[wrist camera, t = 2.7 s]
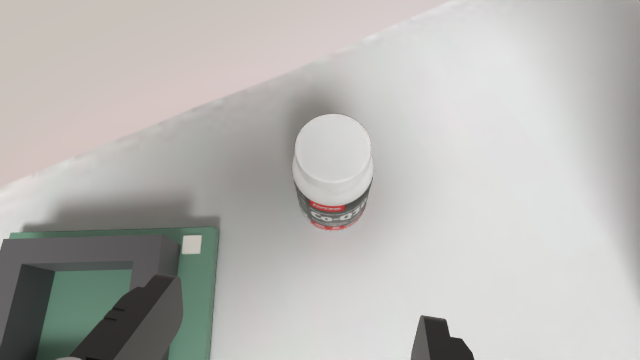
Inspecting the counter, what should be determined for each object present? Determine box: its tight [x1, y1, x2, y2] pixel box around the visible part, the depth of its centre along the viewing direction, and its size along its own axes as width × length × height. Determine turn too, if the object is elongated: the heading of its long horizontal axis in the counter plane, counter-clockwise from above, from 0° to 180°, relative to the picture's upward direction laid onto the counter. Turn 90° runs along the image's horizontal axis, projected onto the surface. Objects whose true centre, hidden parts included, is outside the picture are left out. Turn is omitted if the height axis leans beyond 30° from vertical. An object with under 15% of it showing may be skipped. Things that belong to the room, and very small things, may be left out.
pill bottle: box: [292, 114, 374, 231], centre depth 24 cm, size 5×5×8 cm
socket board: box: [0, 227, 219, 360], centre depth 24 cm, size 14×12×4 cm
